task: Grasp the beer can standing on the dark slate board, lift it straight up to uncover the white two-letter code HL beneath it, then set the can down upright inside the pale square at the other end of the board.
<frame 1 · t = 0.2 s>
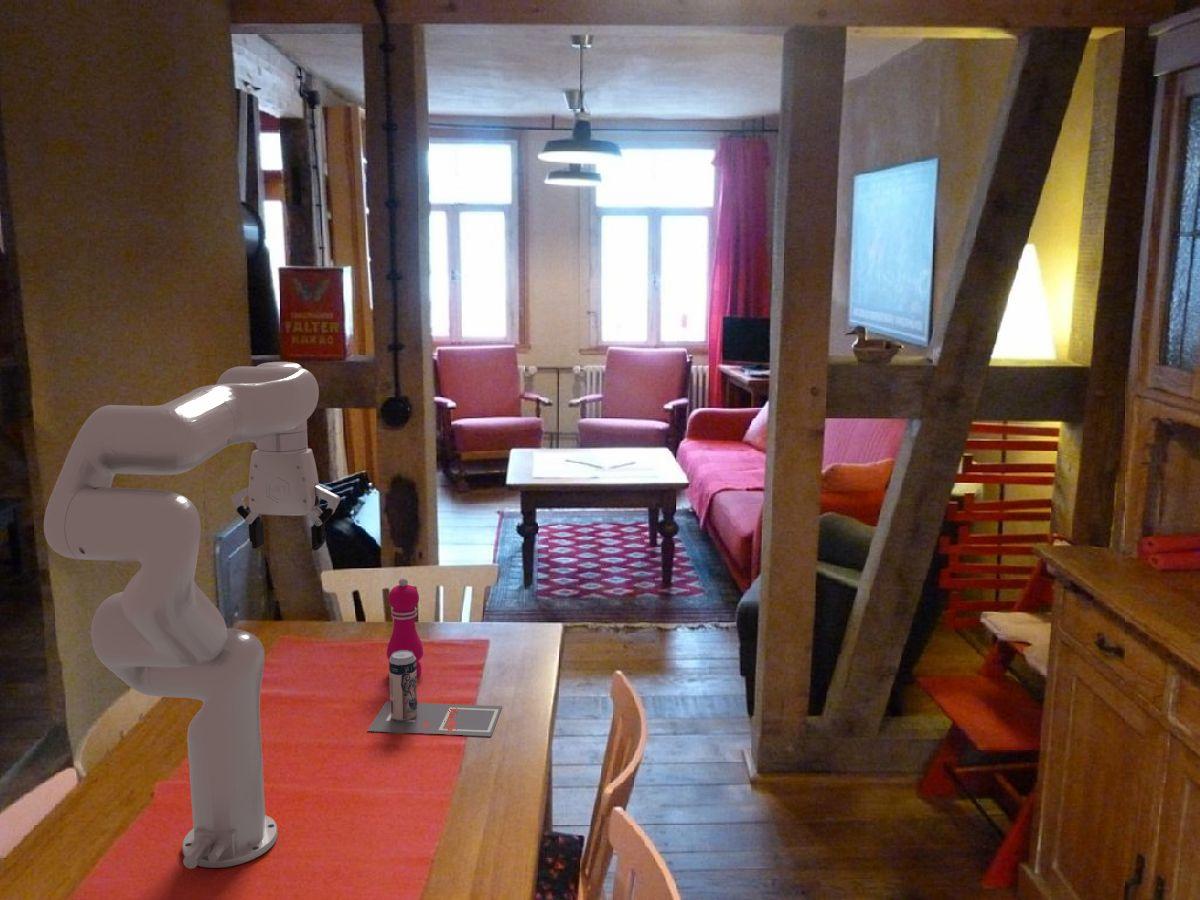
hand: (287, 547, 156), 36 cm above the table, tool pointing down, fingers open, 9 cm apart
pepper mill: (405, 673, 198), on the table
slate board: (436, 719, 178), on the table
beer can: (404, 717, 178), resting on slate board
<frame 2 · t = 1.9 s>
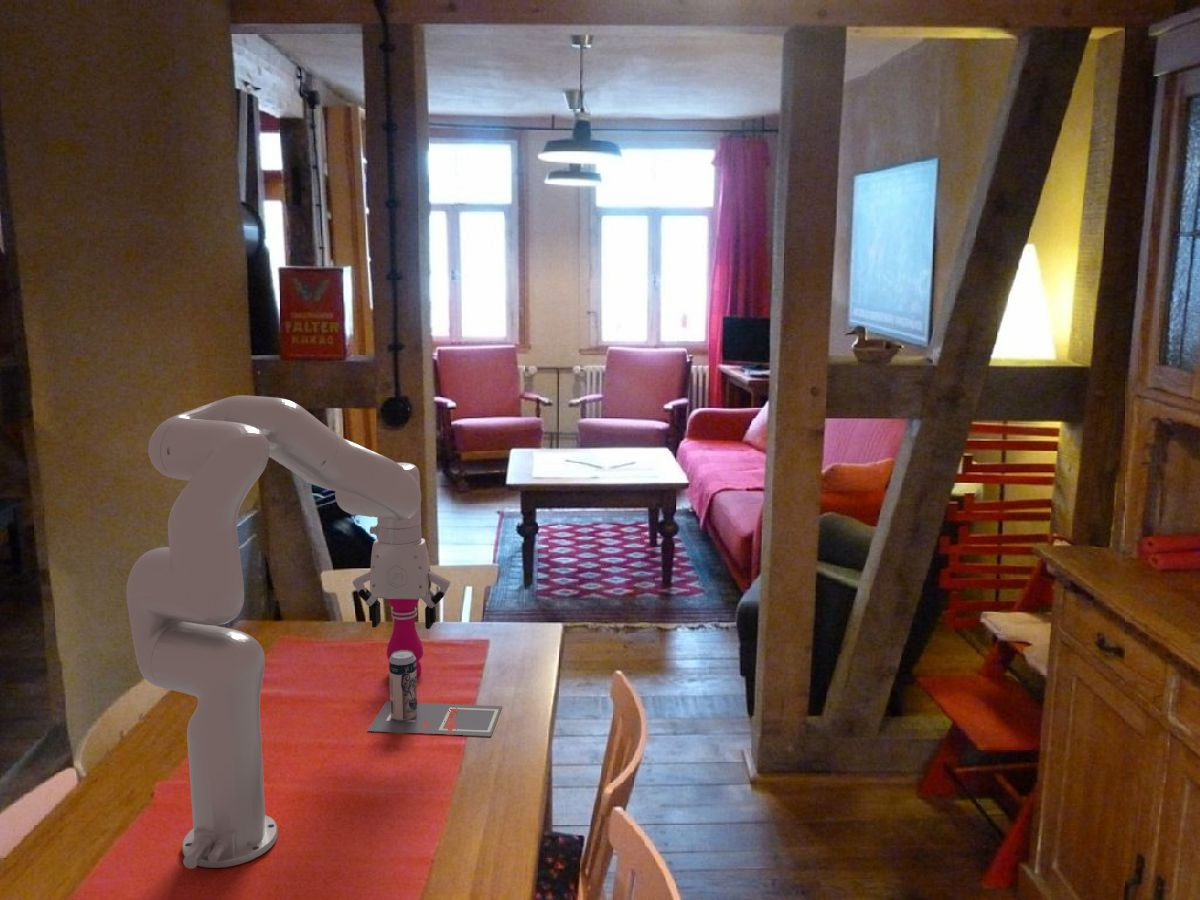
hand: (402, 625, 175), 18 cm above the table, tool pointing down, fingers open, 9 cm apart
nothing on the table moved.
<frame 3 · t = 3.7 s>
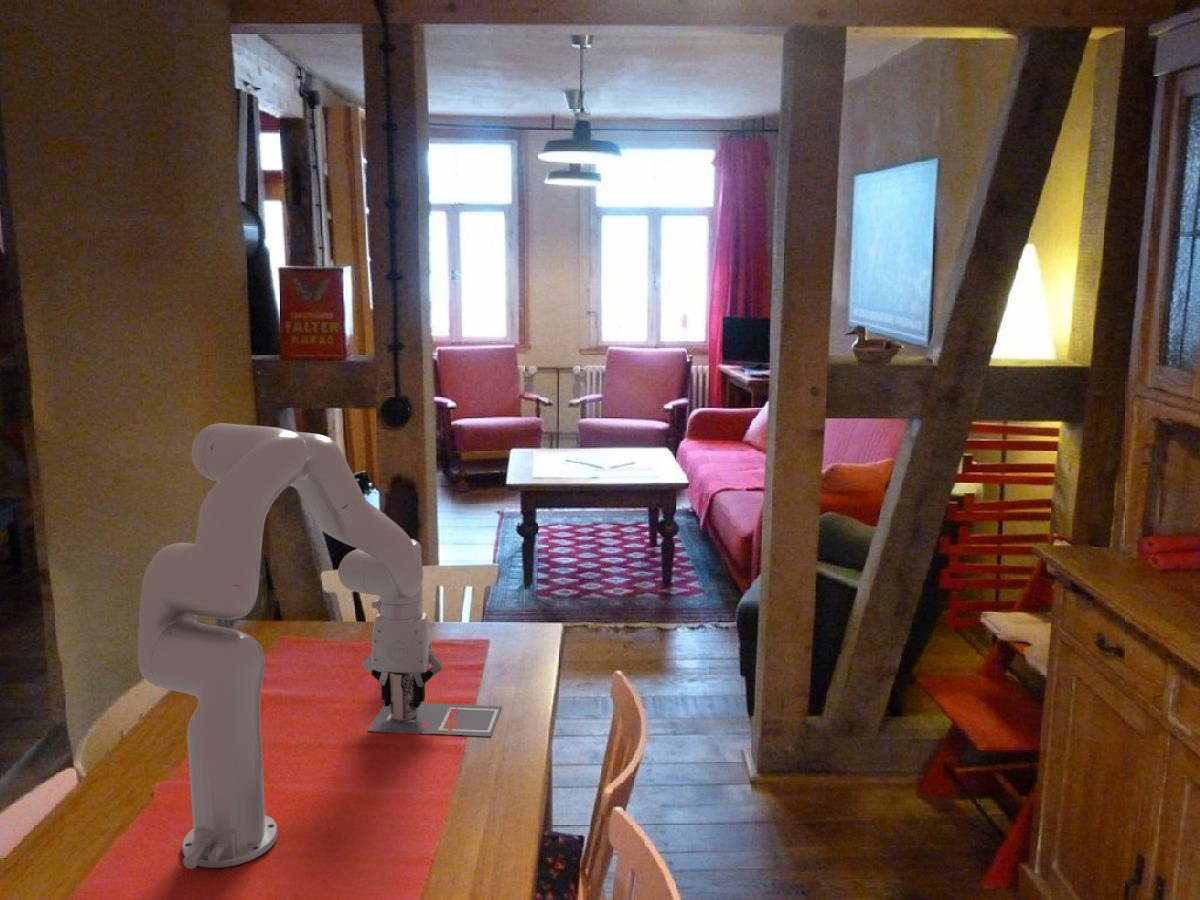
hand: (403, 702, 178), 3 cm above the table, tool pointing down, fingers closed on beer can, 4 cm apart
beer can: (404, 717, 178), resting on slate board, touching gripper
everything else where it was.
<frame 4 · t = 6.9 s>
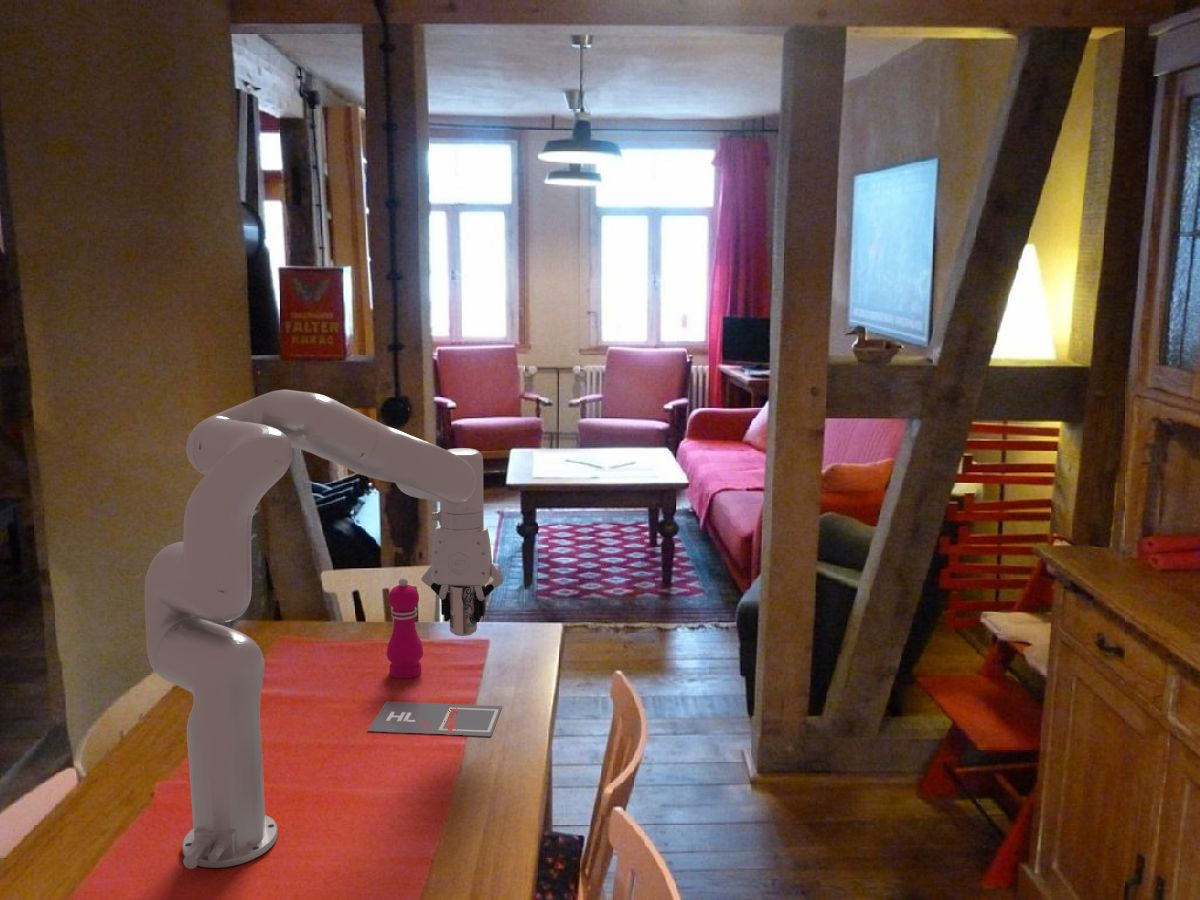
hand: (463, 618, 174), 19 cm above the table, tool pointing down, fingers closed on beer can, 4 cm apart
beer can: (463, 633, 174), point 17 cm above the table, touching gripper
everything else where it was.
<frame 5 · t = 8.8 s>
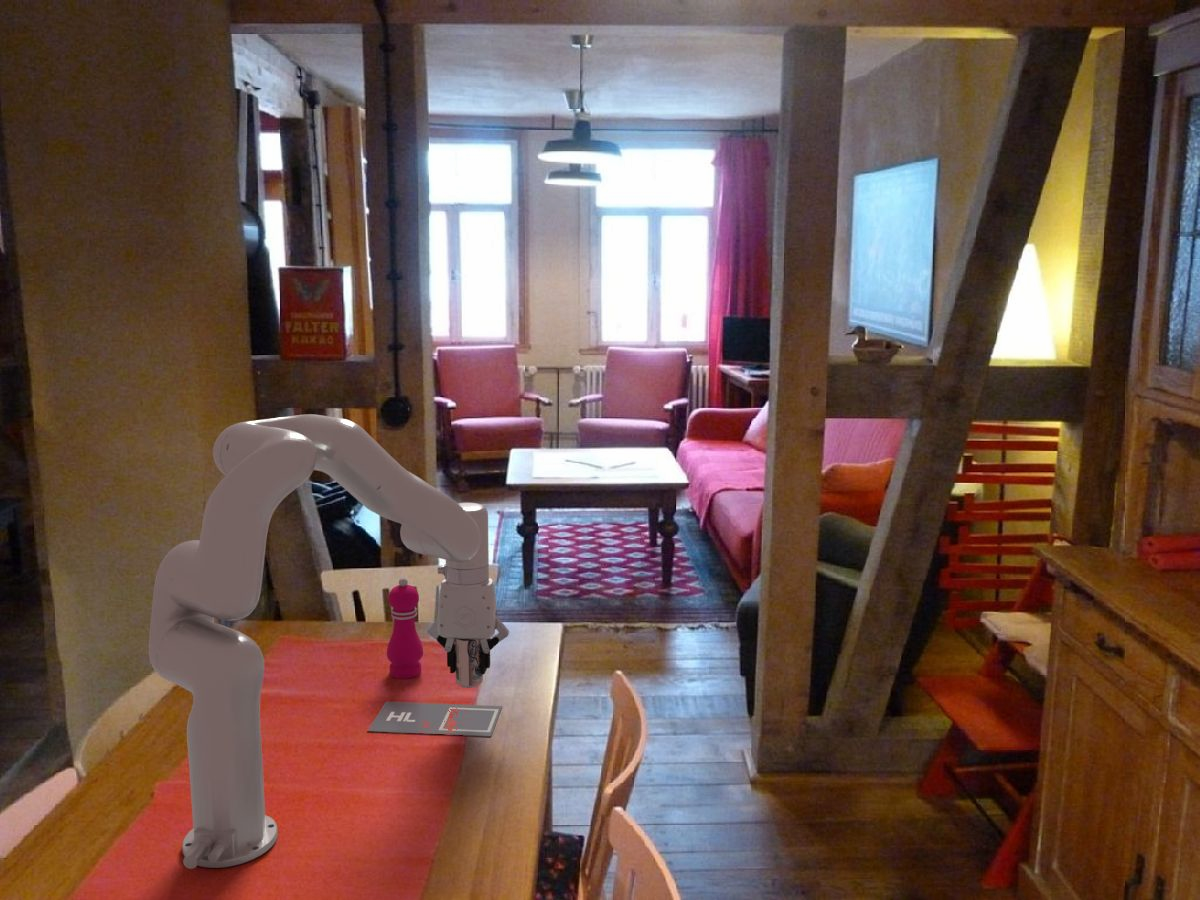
hand: (468, 669, 176), 10 cm above the table, tool pointing down, fingers closed on beer can, 4 cm apart
beer can: (469, 684, 176), point 7 cm above the table, touching gripper
everything else where it was.
when the fingers open (4 cm above the table, at t = 10.3 s): beer can stays where it is, resting on slate board.
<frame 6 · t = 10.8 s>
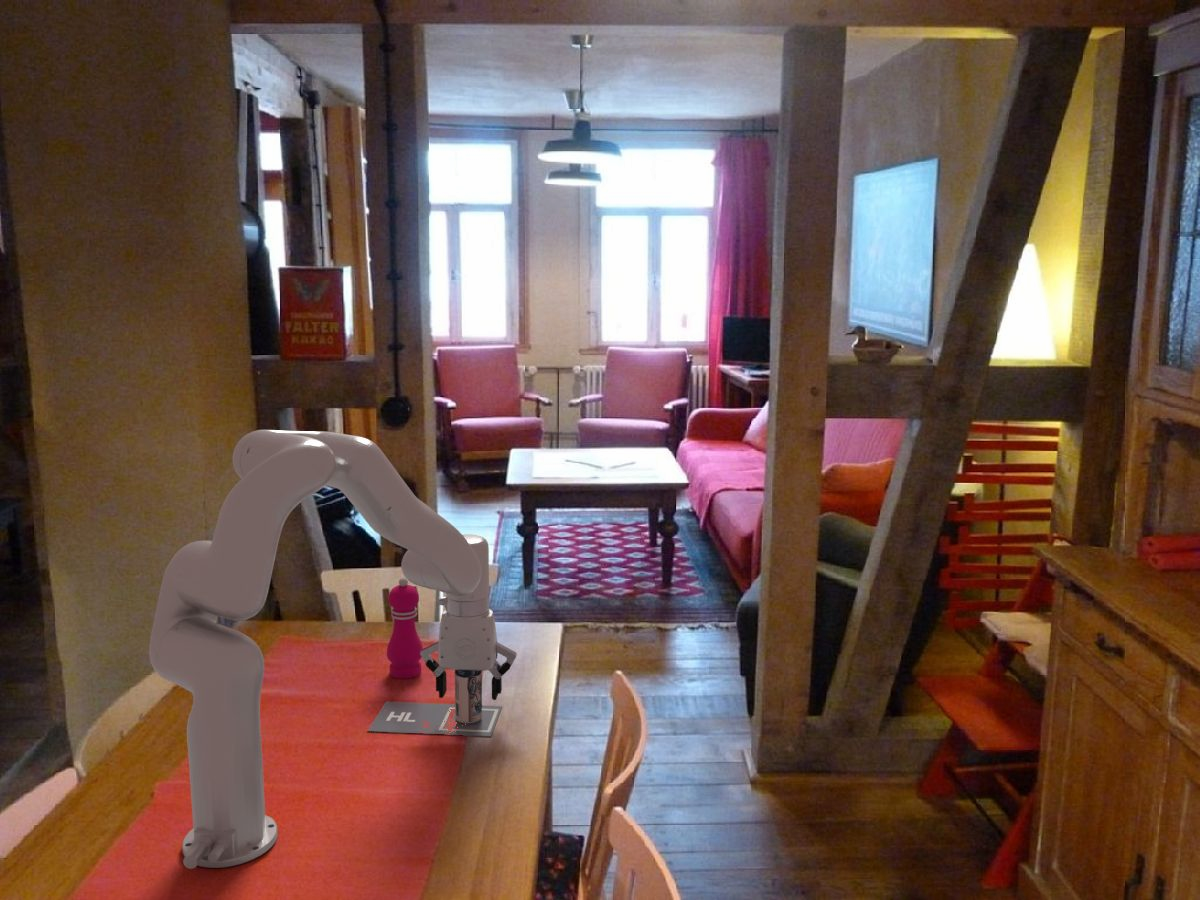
hand: (469, 695, 177), 5 cm above the table, tool pointing down, fingers open, 9 cm apart
beer can: (468, 720, 177), resting on slate board
everything else where it was.
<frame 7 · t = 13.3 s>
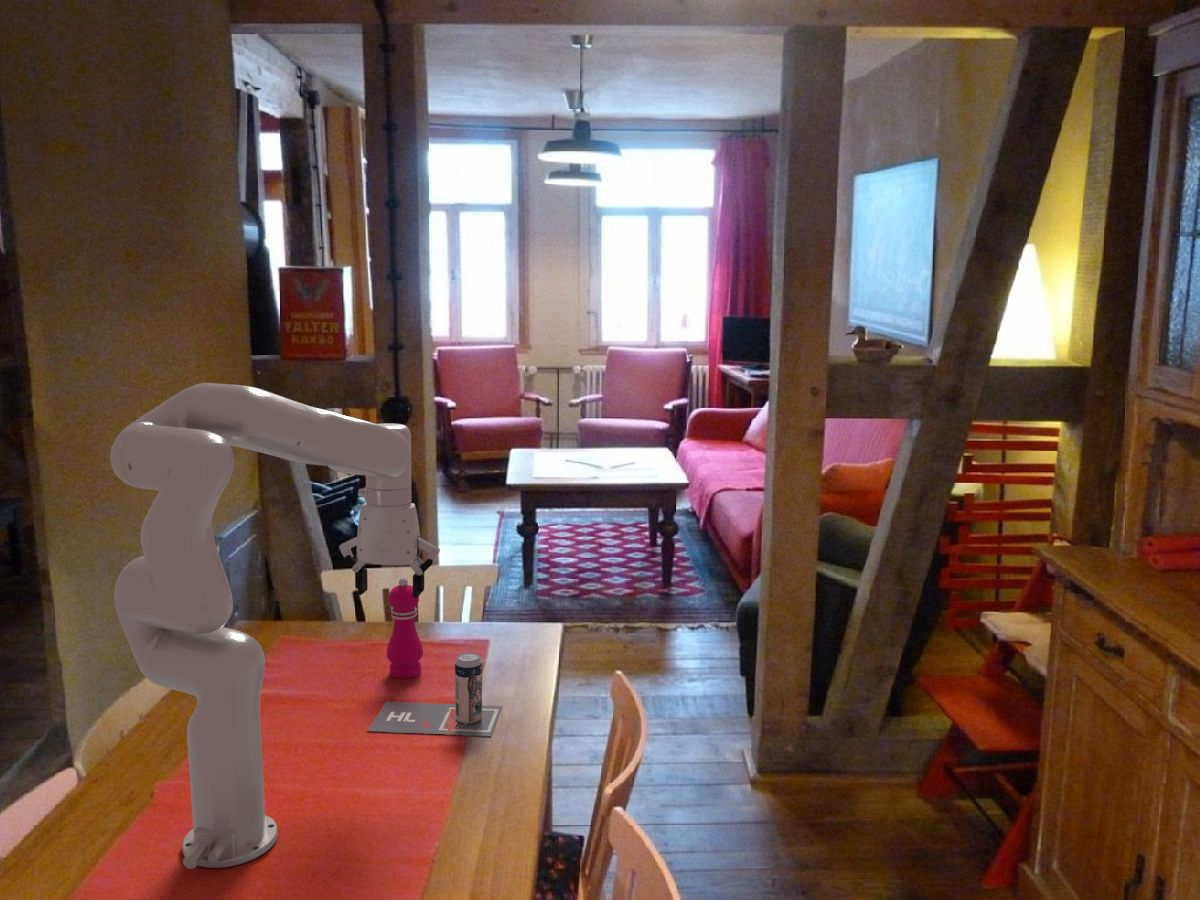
hand: (389, 594, 169), 25 cm above the table, tool pointing down, fingers open, 9 cm apart
nothing on the table moved.
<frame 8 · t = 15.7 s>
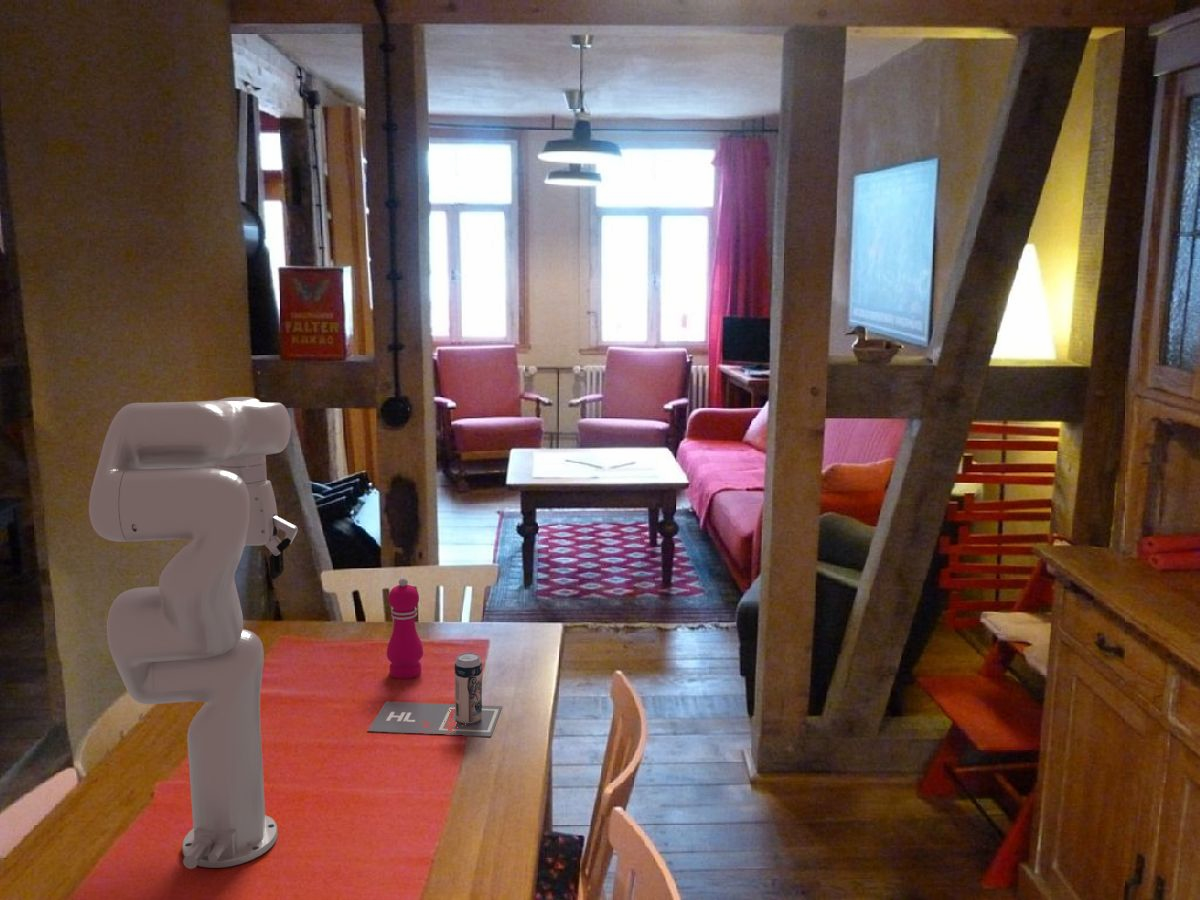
hand: (247, 575, 161), 30 cm above the table, tool pointing down, fingers open, 9 cm apart
nothing on the table moved.
at the end: beer can inside the target area (0.1 cm from its centre), resting on slate board; beer can tilted 0°; beer can moved 11.9 cm from its start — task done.
